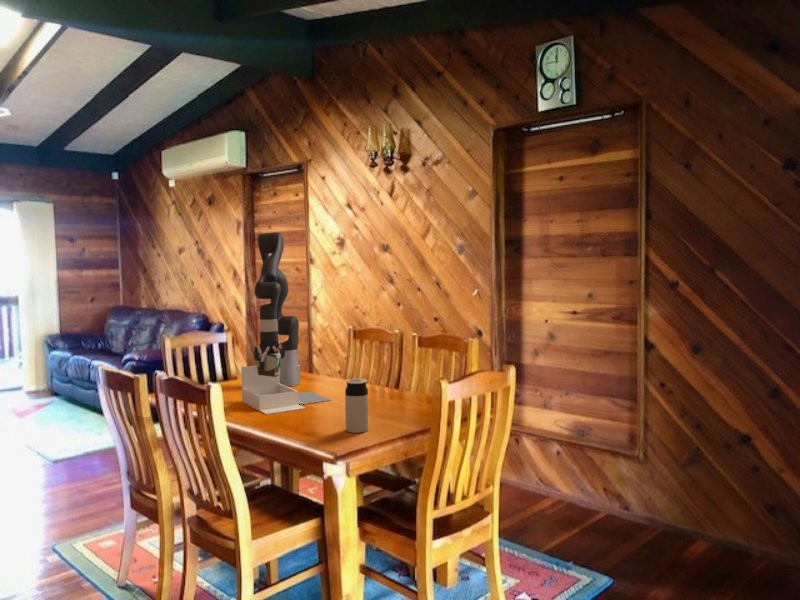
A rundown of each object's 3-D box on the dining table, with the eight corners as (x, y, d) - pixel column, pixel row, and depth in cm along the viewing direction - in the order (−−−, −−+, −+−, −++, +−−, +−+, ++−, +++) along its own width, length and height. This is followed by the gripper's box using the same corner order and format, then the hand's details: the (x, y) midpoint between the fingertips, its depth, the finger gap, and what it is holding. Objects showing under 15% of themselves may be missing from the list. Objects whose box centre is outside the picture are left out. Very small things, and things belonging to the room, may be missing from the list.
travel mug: (344, 433, 225) (344, 382, 224) (346, 427, 233) (346, 378, 232) (367, 433, 225) (367, 382, 224) (368, 427, 233) (368, 378, 232)
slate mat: (310, 392, 293) (310, 391, 293) (330, 400, 276) (330, 399, 276) (281, 396, 285) (281, 395, 285) (300, 405, 268) (300, 404, 268)
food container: (287, 374, 271) (286, 351, 270) (277, 377, 266) (277, 353, 265) (265, 372, 277) (264, 349, 277) (255, 374, 272) (254, 351, 271)
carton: (279, 396, 285) (278, 363, 284) (305, 408, 262) (305, 372, 261) (242, 401, 275) (241, 367, 274) (266, 414, 253) (265, 376, 252)
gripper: (281, 327, 276) (282, 366, 278) (248, 330, 268) (250, 370, 270) (288, 329, 270) (289, 368, 272) (255, 332, 262) (256, 372, 264)
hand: (269, 369), depth 271 cm, fingers closed on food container, 6 cm apart
